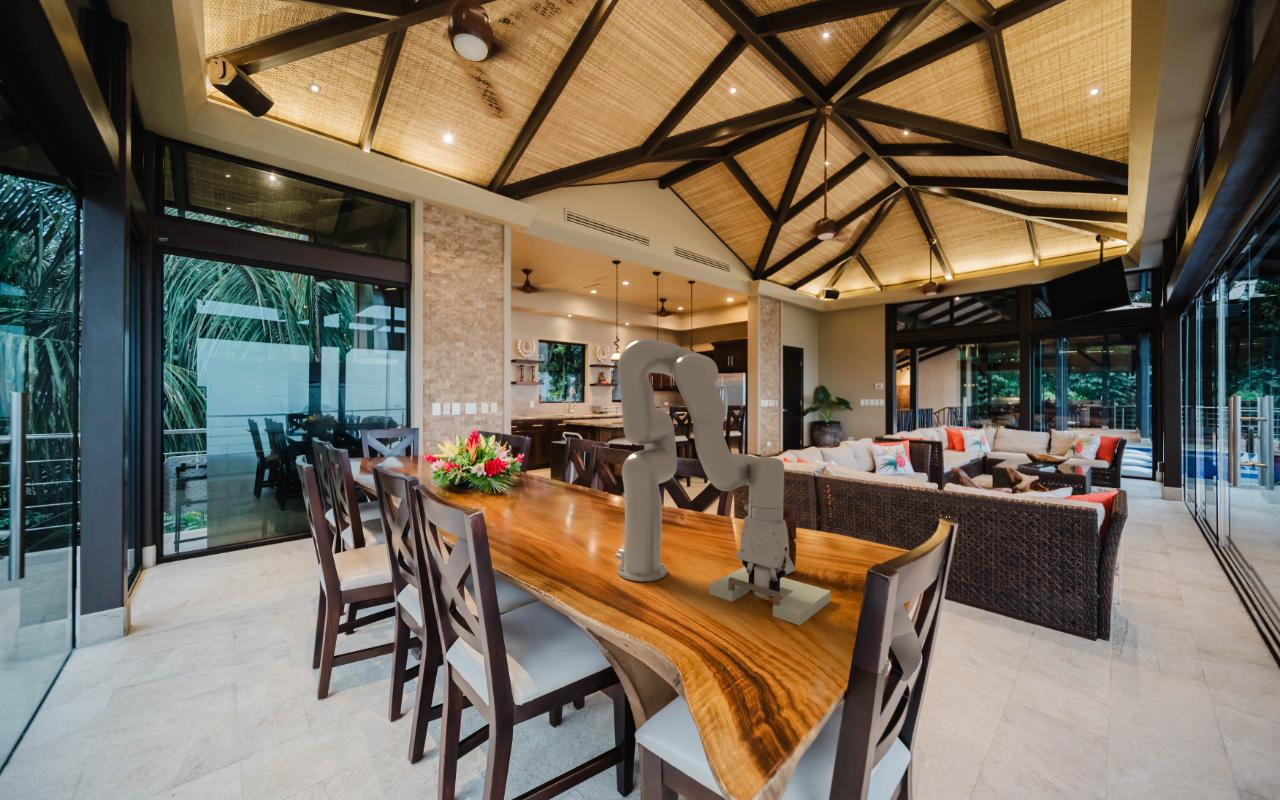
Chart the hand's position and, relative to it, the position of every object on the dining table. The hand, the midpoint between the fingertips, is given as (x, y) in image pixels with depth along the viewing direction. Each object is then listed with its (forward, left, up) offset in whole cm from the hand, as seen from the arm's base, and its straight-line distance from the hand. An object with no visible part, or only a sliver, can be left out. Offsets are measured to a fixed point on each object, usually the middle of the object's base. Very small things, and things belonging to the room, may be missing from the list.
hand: (763, 592), depth 113 cm
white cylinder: (0, 0, 0) cm, 0 cm away
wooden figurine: (-8, +20, -2) cm, 21 cm away
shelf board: (0, +3, -2) cm, 3 cm away
